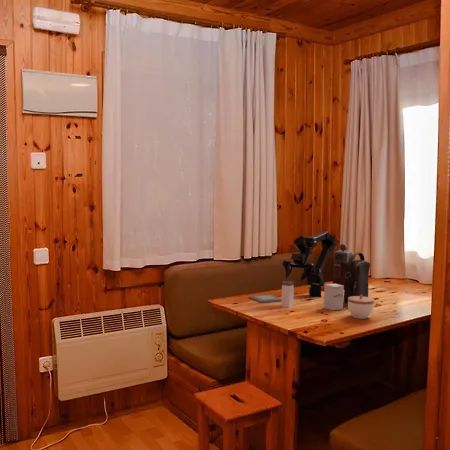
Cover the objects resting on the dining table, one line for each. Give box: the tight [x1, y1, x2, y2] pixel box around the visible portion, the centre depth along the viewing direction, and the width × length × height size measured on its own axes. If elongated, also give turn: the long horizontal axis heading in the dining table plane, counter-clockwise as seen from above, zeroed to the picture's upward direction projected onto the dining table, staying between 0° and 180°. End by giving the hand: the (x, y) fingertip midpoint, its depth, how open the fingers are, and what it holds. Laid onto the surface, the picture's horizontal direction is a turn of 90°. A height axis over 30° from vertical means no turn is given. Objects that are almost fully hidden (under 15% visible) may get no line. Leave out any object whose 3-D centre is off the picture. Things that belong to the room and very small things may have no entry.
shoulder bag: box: [343, 252, 371, 306], centre depth 290 cm, size 23×9×28 cm, turn 142°
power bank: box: [281, 280, 295, 308], centre depth 278 cm, size 5×5×13 cm
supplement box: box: [323, 283, 344, 311], centre depth 275 cm, size 7×7×13 cm
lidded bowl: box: [347, 295, 375, 320], centre depth 258 cm, size 13×13×11 cm
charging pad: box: [248, 294, 282, 304], centre depth 293 cm, size 14×14×1 cm
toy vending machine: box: [332, 243, 353, 288], centre depth 329 cm, size 9×11×28 cm
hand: (293, 279), depth 284 cm, fingers open, 9 cm apart
